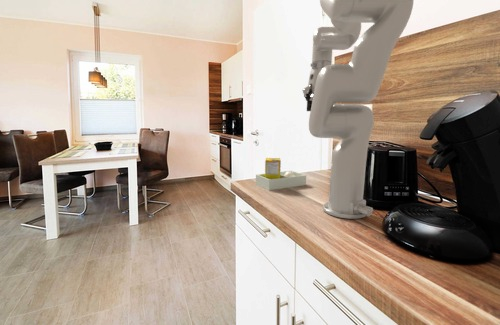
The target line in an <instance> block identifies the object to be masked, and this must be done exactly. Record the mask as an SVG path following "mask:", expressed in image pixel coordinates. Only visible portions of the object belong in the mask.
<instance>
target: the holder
mask: <svg viewBox="0 0 500 325" xmlns="http://www.w3.org/2000/svg"><path fill="white" fill-rule="evenodd" d="M289 171H290V172H293V173H294V174H295V176H293V177H286V176H284V174H285V173H286V172H289ZM255 185H257V186H259V187H261V188H263V189H265V190H267V191H274V190H275V191H276V190H282V189H287V188H295V187H302V186H306V185H307V174H304V173H301V172H298V171H297V172H296V171H293V170H287V171H280V178H277V179H267V178H265V173H259V174H255Z"/></svg>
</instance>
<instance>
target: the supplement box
mask: <svg viewBox="0 0 500 325" xmlns="http://www.w3.org/2000/svg"><path fill="white" fill-rule="evenodd" d="M264 164H265V165H264V167H265V169H264V174H265V178H267V179H277V178H280V172H281V168H282V167H281V165H282V164H281V158H280V157H278V158H277V157H274V158H273V157H265V161H264Z"/></svg>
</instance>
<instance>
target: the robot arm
mask: <svg viewBox="0 0 500 325" xmlns="http://www.w3.org/2000/svg"><path fill="white" fill-rule="evenodd" d="M319 3H320V4H319V5H320V7H321V9H322V11H323V12H324V13H325V15H327V16H328V18H329V19H330V23H331V24H332V25H333V26H319V27H317V28H316V29H315V31H314V32H313V36H312V54H311V55H312V58H311V63H310V67H311V70H310V72H309V78H308V84H307V86H306V87H304V88H303V89H302V94H303V97H304V98H305V101H306V112H309V117H308V118H309V119H308V130H309V132H310V135H312V136H313V137H314V138H318V139H319V138H320V139H340V140H339V141H338V142H337V144H336V145H335V147H334V148H333V150H332V152H331V160H330V161H331V162H330V164H331V165H330V178H329V192H328V201H327V202H325V203H324V204H323V205H322V210H323V211H324V212H325V213H326V214H327V215H330V216H333V217H335V218H341V219H349V220H353V219H354V220H355V219H356V220H357V219H358V220H359V219H362V218H365V217H371V215H372V213H373V211H374V208H373V207H371V206H368V205H367V200H366V199H364V190H365V181H366V167H367V158H368V149H369V143H370V138H371V135H372V131H373V127H374V123H375V116H374V115H375V114H374V112H373V110H372V109H371V108H370V107H368V106H366V105H363V104H364V103H371V102H372V101H373V100H374V99H375V98H376V97H377V96H378V93H379V91H380V88H381V86H382V81H383V79H384V76H385V73H386V71H387V67H388V65H389V62H390V59H391V55H392V52H393V50H394V49H395V46H396V45H397V42H398V41H399V39H400V37H401V36H402V34H403V32H404V30H405V29H406V27H407V24H408V23H409V20H410V18H411V15H412V11H413V9H414V8H413V7H414V0H319ZM363 23H373V24H372V25H371V26H370V27H369V28H368V29H367V30H366V31H364V32H363V33H362V35H361V30H362V24H363ZM360 35H361V36H360ZM353 45H354V46H353ZM352 46H353V51H352V54H351V59H350V61H349V63H347V64H343V63H342V64H341V63H340V64H339V63H337V64H335V63H334V64H332V61H333V51H338V50H339V51H344V50H345V51H346V50H349V49H350V48H351V47H352Z"/></svg>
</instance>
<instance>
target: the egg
mask: <svg viewBox="0 0 500 325" xmlns="http://www.w3.org/2000/svg"><path fill="white" fill-rule="evenodd" d="M288 171H289V172H286V173H285V174H284V176H286V177H293V176H295V174H294V173H293V172H290V171H291V170H288Z"/></svg>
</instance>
